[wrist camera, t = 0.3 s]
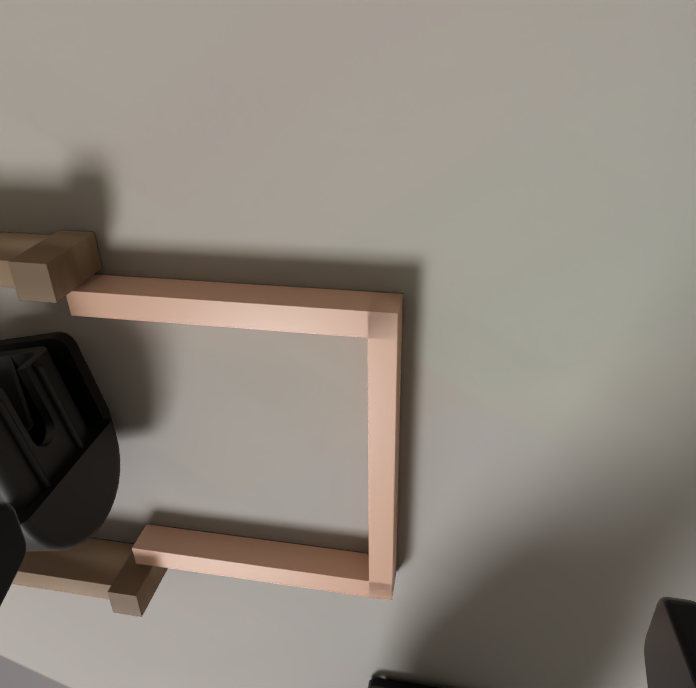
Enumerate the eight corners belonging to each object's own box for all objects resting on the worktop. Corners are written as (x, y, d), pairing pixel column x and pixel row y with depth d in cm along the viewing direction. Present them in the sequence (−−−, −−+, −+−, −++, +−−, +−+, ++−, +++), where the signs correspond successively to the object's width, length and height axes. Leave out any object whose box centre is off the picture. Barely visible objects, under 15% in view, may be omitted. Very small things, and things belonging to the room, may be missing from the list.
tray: (396, 573, 30) (391, 600, 28) (150, 539, 32) (135, 563, 30) (402, 293, 23) (397, 313, 21) (86, 273, 25) (64, 290, 23)
